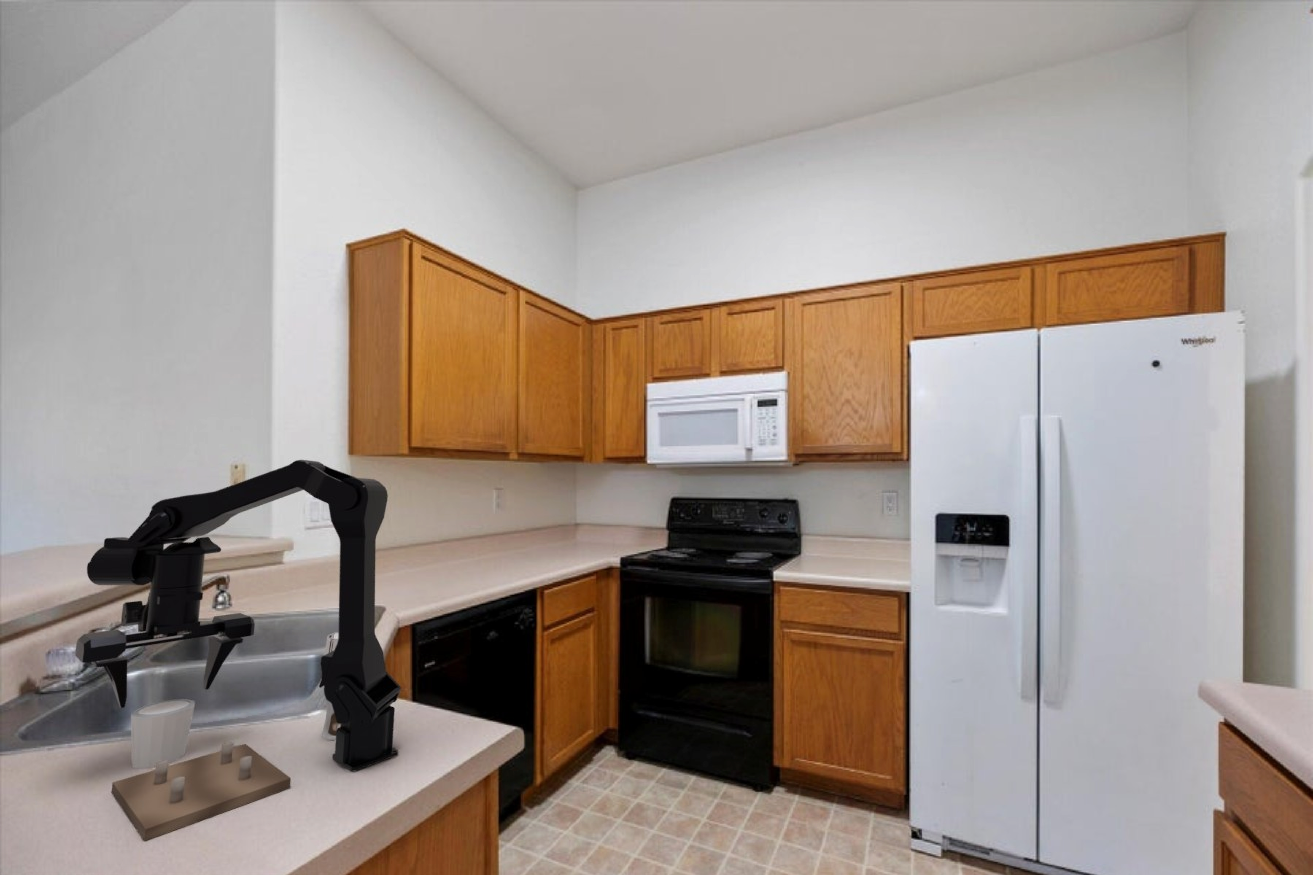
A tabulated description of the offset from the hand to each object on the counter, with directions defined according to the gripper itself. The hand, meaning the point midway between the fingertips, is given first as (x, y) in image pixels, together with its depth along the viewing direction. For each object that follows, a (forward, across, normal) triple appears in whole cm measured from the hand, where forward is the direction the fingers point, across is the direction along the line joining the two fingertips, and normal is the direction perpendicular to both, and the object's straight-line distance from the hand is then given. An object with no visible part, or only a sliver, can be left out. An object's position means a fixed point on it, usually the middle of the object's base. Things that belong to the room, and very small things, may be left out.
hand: (165, 697), depth 80 cm
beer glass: (+8, -20, +11) cm, 24 cm away
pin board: (+8, -1, +15) cm, 17 cm away
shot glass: (+8, 0, 0) cm, 9 cm away
